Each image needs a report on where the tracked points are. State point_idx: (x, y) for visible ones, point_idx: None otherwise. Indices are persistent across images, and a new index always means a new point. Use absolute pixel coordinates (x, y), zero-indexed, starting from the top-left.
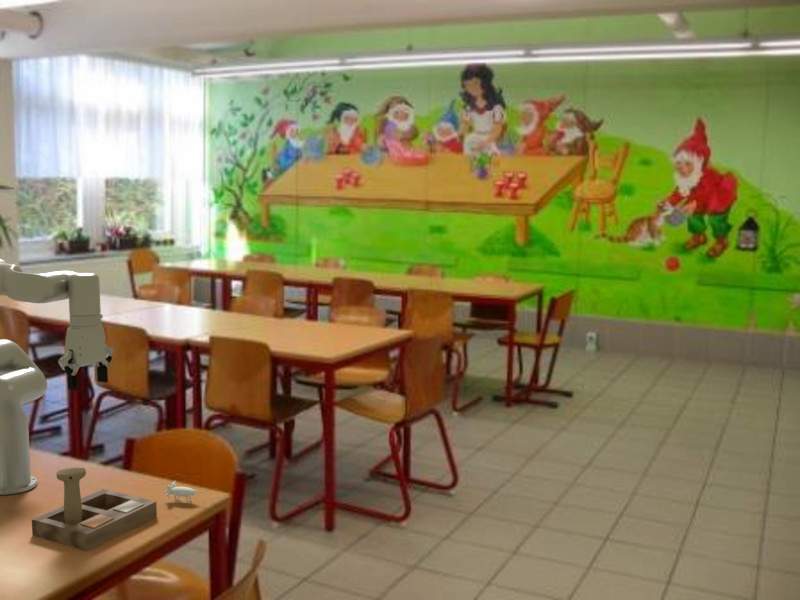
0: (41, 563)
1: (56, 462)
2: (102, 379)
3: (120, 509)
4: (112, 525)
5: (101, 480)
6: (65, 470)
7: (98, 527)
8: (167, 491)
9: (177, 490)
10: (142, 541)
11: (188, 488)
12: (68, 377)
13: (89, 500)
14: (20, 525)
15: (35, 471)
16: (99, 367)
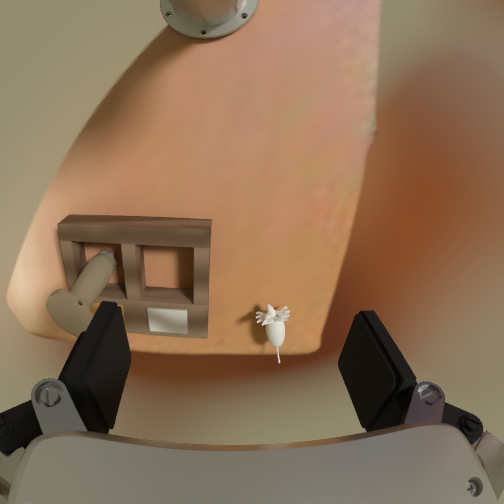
0: (42, 287)
1: None
2: (348, 357)
3: (151, 319)
4: None
5: (311, 129)
6: (63, 305)
7: None
8: (267, 312)
9: (268, 330)
10: (141, 347)
11: (276, 342)
12: (63, 382)
13: (157, 244)
14: (81, 165)
15: None
16: (394, 393)
